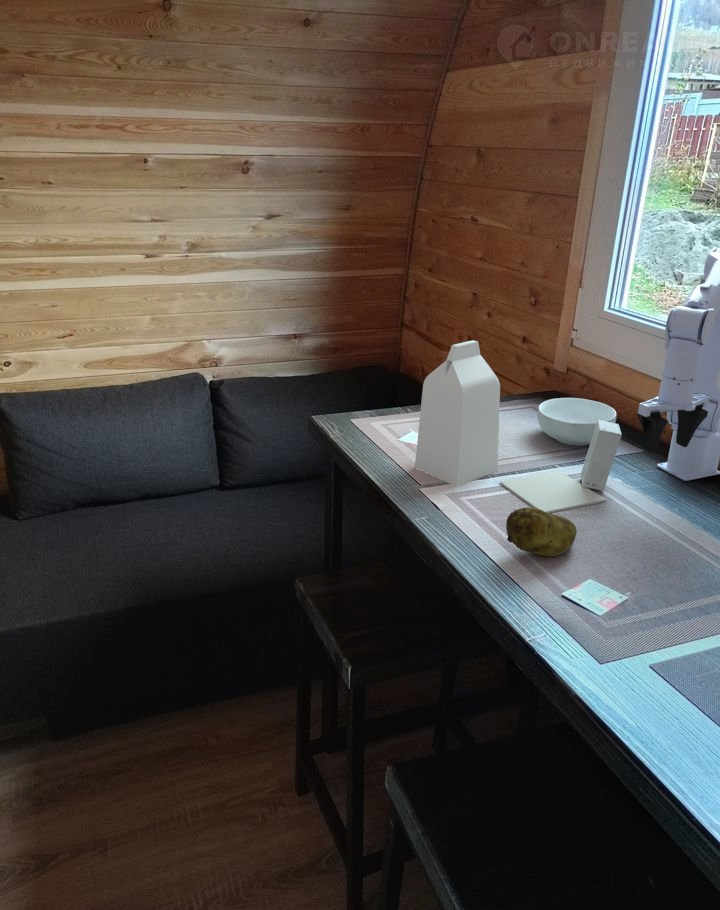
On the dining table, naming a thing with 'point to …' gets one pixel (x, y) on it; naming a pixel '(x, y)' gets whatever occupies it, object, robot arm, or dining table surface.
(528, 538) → the potato
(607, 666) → the dining table surface
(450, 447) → the milk
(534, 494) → the mat
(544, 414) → the cereal bowl
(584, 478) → the skincare box
